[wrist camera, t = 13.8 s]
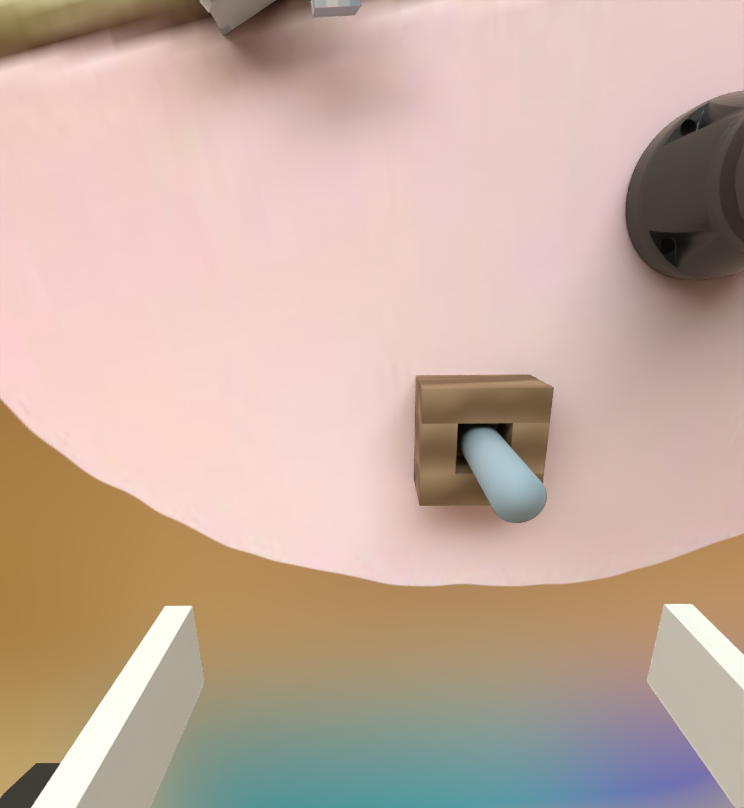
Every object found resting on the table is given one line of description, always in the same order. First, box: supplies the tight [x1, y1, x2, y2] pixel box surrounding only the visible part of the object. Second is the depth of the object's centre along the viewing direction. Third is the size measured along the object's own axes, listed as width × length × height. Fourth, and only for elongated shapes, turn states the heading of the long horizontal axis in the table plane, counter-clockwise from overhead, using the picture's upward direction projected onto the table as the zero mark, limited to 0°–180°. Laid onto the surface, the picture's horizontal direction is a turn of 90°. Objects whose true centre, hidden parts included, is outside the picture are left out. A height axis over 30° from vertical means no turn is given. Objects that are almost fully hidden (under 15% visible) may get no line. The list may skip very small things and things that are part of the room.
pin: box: [457, 423, 547, 523], centre depth 36 cm, size 4×4×14 cm
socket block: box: [414, 375, 554, 506], centre depth 41 cm, size 12×12×6 cm
